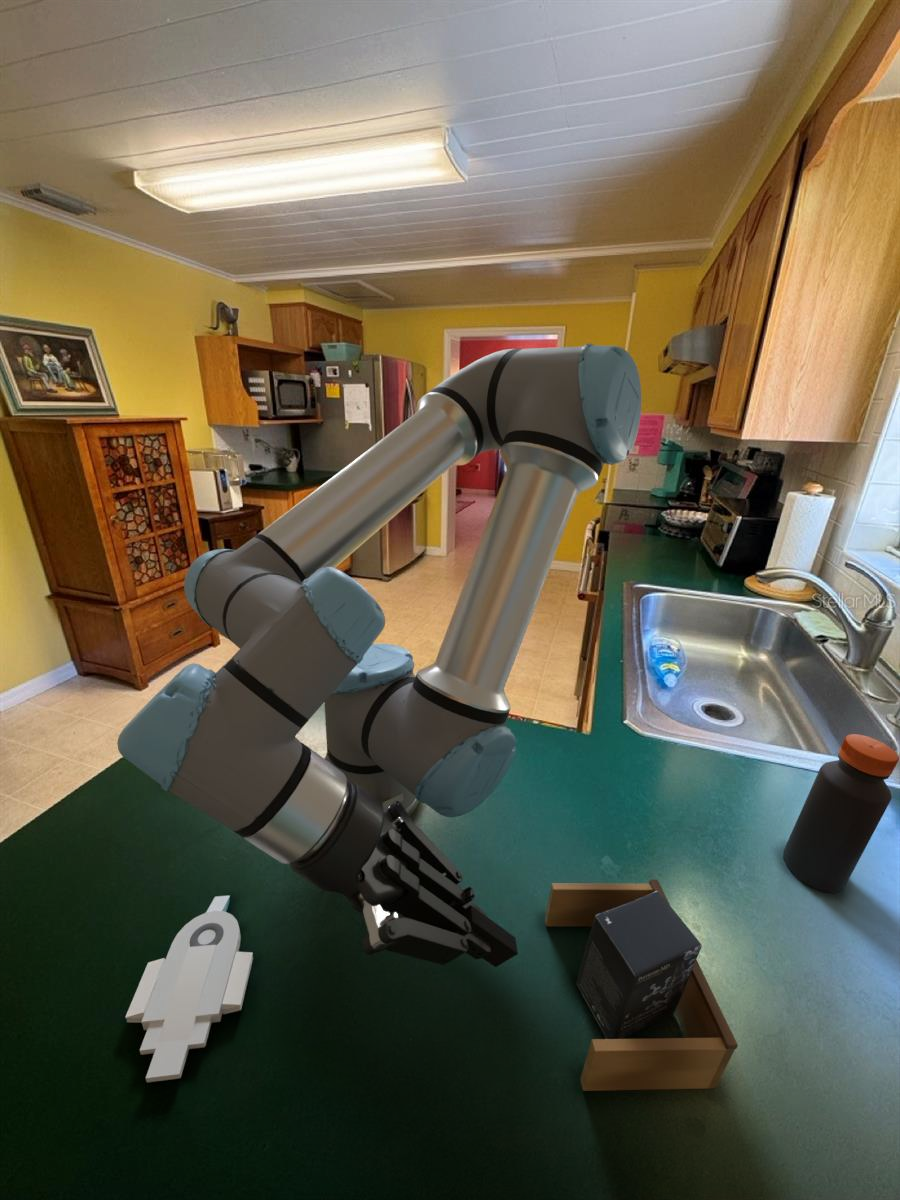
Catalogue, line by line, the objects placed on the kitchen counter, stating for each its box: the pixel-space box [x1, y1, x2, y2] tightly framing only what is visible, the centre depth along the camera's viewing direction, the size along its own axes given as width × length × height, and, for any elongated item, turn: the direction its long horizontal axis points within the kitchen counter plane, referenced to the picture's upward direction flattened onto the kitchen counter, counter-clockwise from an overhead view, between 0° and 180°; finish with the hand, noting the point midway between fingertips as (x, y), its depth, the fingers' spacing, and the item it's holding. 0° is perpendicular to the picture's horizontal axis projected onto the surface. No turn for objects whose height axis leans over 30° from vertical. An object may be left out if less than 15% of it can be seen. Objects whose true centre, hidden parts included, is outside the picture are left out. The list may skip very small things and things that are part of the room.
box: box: [576, 891, 703, 1039], centre depth 45 cm, size 8×6×11 cm
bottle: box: [782, 733, 900, 894], centre depth 58 cm, size 7×7×20 cm
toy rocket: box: [125, 895, 254, 1083], centre depth 46 cm, size 16×10×2 cm, turn 8°
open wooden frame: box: [544, 878, 739, 1092], centre depth 46 cm, size 12×15×7 cm
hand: (505, 952), depth 45 cm, fingers closed
